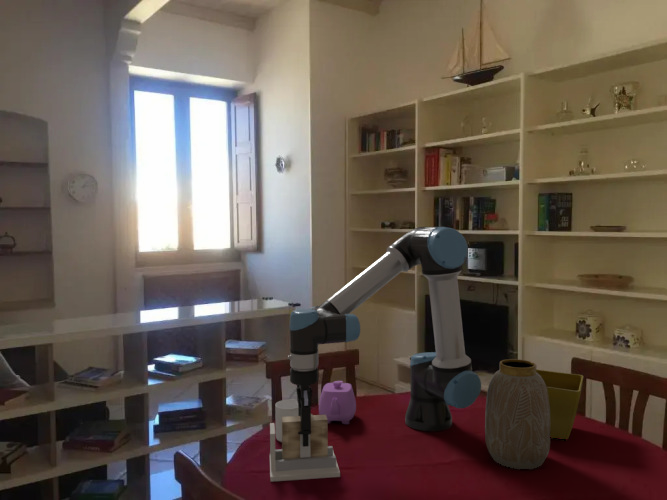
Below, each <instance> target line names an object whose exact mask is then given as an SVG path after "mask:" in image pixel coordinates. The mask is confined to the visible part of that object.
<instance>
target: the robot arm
mask: <svg viewBox="0 0 667 500" xmlns="http://www.w3.org/2000/svg"><path fill="white" fill-rule="evenodd" d="M468 250H469V249H468V244H467V241H466V238H465V237H464V236H463V234H462V233H461V232H460V231H459V230H457V229H455V228H452V227H447V226H418V227H415V228H414V229H411V230H409V231H408V232H407V233H405V234H403V235H402V236H401V237H399V238H398V239H397V240H395V241H393V243H392V244H390V245H389V246H388V247H386V252H385V253H384V254H383V255H381V256H380V257H379V258H378V259H377V260H375V261H374V262H373V263H372V264H371V265H369V266H368V267H367V268H365V269H364V270H363V271H362V272H360V273H359V274H358V275H357V276H355V277H354V278H352V280H350V281H349V282H348V283H347V284H345V285H344V286H343V287H341V288H340V289H339V290H338V291H337V292H335V293H333V295H331V296H330V297H329V298H327V300H325V301H324V302H322V303H321V304H320V305H317V306H311V307H309V308H306V309H305V308H298V309H294V310H292V311H291V313H290V314H289V315H290V316H289V328H288V329H289V346H290V347H289V355H287V360H289V361H290V362H289V365H290V367H291V368H290V369H289V381H290V383H291V384H293V385H296V386H297V387H296V391H295V392H296V396H297V397H296V398H297V399H296V400H297V401H298V416H300V419H301V431H300V432H298V434H300V458H305V457H311V453H310V434H311V414H312V397H313V389H312V386H311V385H314V384H317V383H318V382H319V369H318V367H319V345H326V344H328V345H329V344H337V343H338V344H339V343H350V342H355V341H357V340H358V339H359V337H360V334H361V324H360V320H359V318H358V316H357V315H356V314H354V313H352V312H354V311H355V310H356V309H357V308H359V307H360V306H361V305H362V304H363V303H366V301H367V300H368V299H370V298H371V297H373V295H375V294H376V293H377V292H378V291H380V289H383V288H384V286H386V285H387V284H388V283H389V282H390V281H392V280H393V279H394V278H396V277H397V276H398V275H400V274H401V273H402V272H404V273H407V272H408V271H409V270H411V269H412V268H414V267H416V266H420V265H421V274H422V276H423V277H425V278H426V279H427V282H428V290H429V299H430V300H429V301H430V308H431V309H430V310H431V318H432V320H431V321H432V329H433V337H434V346H435V347H434V348H435V351H434V352H433V351H431V352H429V351H428V352H419V353H415V354H413V355H412V356H411V357H410V363H409V364H410V365H409V368H410V372H409V373H410V399H409V404H408V406H407V408H406V412H405V416H404V421H405V422H404V423H405V425H406V426H408V427H410V428H412V429H414V430H418V431H422V432H441V431H445V430H449V429H450V428H451V427H452V426H453V416H452V413H451V410H450V407H454V408H457V409H465V408H469V407H471V406H472V404H474V403H475V402H476V399H478V397H479V395H480V394H481V391H482V381H481V378H480V377H479V375H478V374H477V373H476V372H475V371H473V368H472V367H473V366H472V359H471V358H470V357H469V356H468V355H467V354H466V350H465V340H464V339H465V338H464V332H463V331H464V330H463V320H462V309H461V301H460V293H459V291H460V290H459V282H458V281H459V280H458V277H459V275H460V274H461V272H462V270H463V269H462V265H463V264H464V263H465V261H466V259H467V256H468Z"/></svg>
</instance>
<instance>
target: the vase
mask: <svg viewBox="0 0 667 500" xmlns="http://www.w3.org/2000/svg"><path fill="white" fill-rule="evenodd" d="M536 369H537V364H536V362H533V361H530V360H526V359H516V358H515V359H514V358H512V359H511V358H510V359H502V360H500V361H499V370H496V372H494V374H493V375H492V376H491V378H490V380H489V382H488V388H487V392H486V401H485V414H484V433H485V434H484V435H485V437H484V438H485V445H486V448H487V450H488V453H489V455H490V457H491V459H492V458H493V459H492V460H493V461H494V462H495V463H497V464H498V463H499V464H498V465H500V464H501V465H500V466H503V467H505V466H506V468H508V467H510V468H509V469H513V468H514V469H513V470H520V469H529V470H535V469H538V468H540V467H541V466H542V465H543V464H544V462H545V461H546V459H547V457H548V455H549V452H550V448H551V438H550V437H551V418H550V403H549V396H548V390H547V387H546V384H545V382H544V380H543V379H542V377H541V376H540V375H539V374H538V373H537V372H536ZM537 370H538V369H537ZM539 466H540V467H539ZM537 467H538V468H537ZM534 468H535V469H534Z"/></svg>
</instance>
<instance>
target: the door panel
mask: <svg viewBox="0 0 667 500" xmlns="http://www.w3.org/2000/svg"><path fill="white" fill-rule="evenodd" d="M300 431H301V419H300V416H289V417H282V442H281V449H282V455H283V459H294V458H300V434H298V432H300ZM328 431H329V430H328V420H327V417H326V415H320V414H316V415H315V414H312V415H311V434H310V453H311V457H326V456H328V446H329V443H328V441H329V439H328V437H329V436H328V434H329V433H328ZM305 458H310V457H305Z"/></svg>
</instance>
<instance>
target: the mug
mask: <svg viewBox="0 0 667 500" xmlns="http://www.w3.org/2000/svg"><path fill="white" fill-rule="evenodd" d="M274 407H275V408H274V409H275V410H274V411H275V412H274V413H275V416H274V417H275V439H276V440H277V441H278V442H280V443H282V417H289V416H298V401H297V399H293V398H292V399H282V400H279V401H277V402H276V403H275V406H274ZM311 415H313V413H311Z"/></svg>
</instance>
